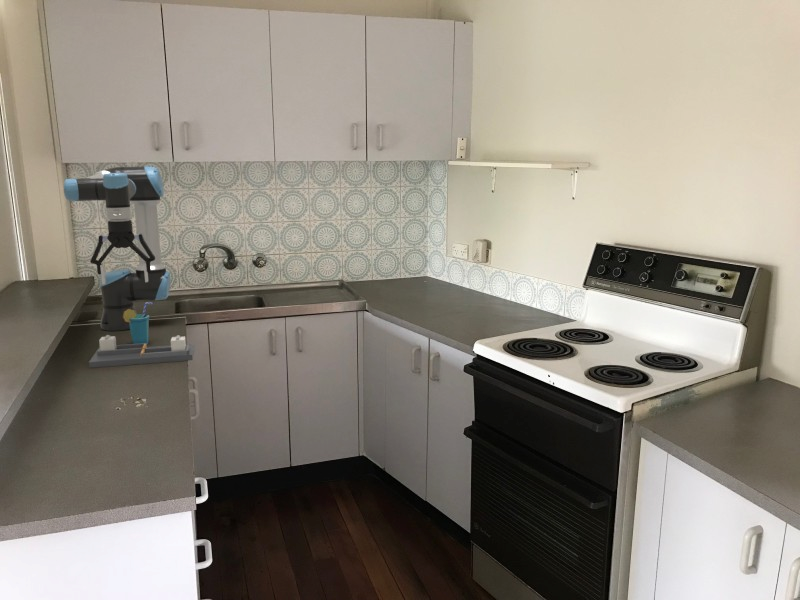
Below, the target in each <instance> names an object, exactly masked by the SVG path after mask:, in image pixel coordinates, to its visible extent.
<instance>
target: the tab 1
mask: <svg viewBox="0 0 800 600" xmlns="http://www.w3.org/2000/svg"><path fill="white" fill-rule="evenodd" d="M98 341H99V342H98V343H99V347H100V351H103V350H117V347H116V345H117V339H116V335H114V336H111V335H110V334H106V335H105V336H101V337H100V339H99V340H98Z"/></svg>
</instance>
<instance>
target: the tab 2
mask: <svg viewBox="0 0 800 600" xmlns="http://www.w3.org/2000/svg"><path fill="white" fill-rule="evenodd" d="M186 341H187V340H186V336H180V334H178V335H176V336H172V337H171V339H170V345H171V351H181V350H186V344H187V342H186Z"/></svg>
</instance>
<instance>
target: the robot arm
mask: <svg viewBox="0 0 800 600" xmlns="http://www.w3.org/2000/svg"><path fill="white" fill-rule="evenodd" d="M164 189H165V187H164V182H163V179H162V174H161V172H160V170H159V169H158V168H157V167H154V166H147V165H146V166H114V167H110V168H106V169H102V170H99V171H97V172H95V173H94V174H93V175H90V176H87V177H83V178H82V177H81V178H66V179H65V180H64V182H63V193H64V197H65V199H66V200H67V201H69V202H86V201H87V202H88V201H104V202H105V208H106V209H105V210H106V219H107V220H108V221H107V229H108V230H107V231H108V234H107V235H103V234H100V235H99V236H98V243H97V244H96V247H95V249H94V252H93V254H92V257H91V258H90V263H91V264H93V265H96V270H97V274H98V275H100V288H101V297H102V305H103V306H102V307H103V309H102V315H101V318H100V330H103V331H109V332H110V331H111V332H115V331H116V332H117V331H125V330H130V325H129V322H125V321H124V319H123V314H124V312H125V311H126V310H128V309H131V310H134V311H135V313H136V314H138V312H137V311H136V308H135V302H140V301H141V302H142V301H160V300H166V299H167V298H168V297H169V295H170V291H171V290H170V288H171V280H172V279H171V278H172V277H171V271H168V270H167V268H166V265H165V264H163V263H162V255H161V253H162V251H161V244H160V243H161V241H160V240H161V239H160V229H159V218H158V217H159V215H158V203H160V202H161V197H163V196H165V195H164V194H165V192H164V191H165V190H164ZM131 204H132V205H133V206H134V207H133V208H134V219H135V229H136V230H135V231H136V234H134V231H133V230H134V229H133V221H132V220H131V219H132V209H131ZM135 239H136V242H137V243H134V241H135ZM106 241H109V242H110V245H109V246H108V248H106V250H105V251H103V253H102V255H101V256H100V257H99V254H100V251H101V249H102V246H103V244H104V243H105V242H106ZM114 248H116V249H121V248H122V249H127V248H130V249H132V250H133V251H134V252H135V253H136V254H137V256H138V266H137V267H136V268H135V272H132V270H131V269H130V268H122V269H117V270H111V271H107V272H106V271H105V264H104V263H103V261H104V260H105V259H106V258H107V256H108V255H109V254H110V253H111V252H112V251H113V249H114ZM98 257H99V259H98Z"/></svg>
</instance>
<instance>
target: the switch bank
mask: <svg viewBox="0 0 800 600" xmlns="http://www.w3.org/2000/svg"><path fill="white" fill-rule="evenodd" d="M147 345H148V344H146V343H139V344H133V343H128V344H127V343H126V344H116V347H117V350H103V351H100V346H98V348H97V350H96V351H95V353H94V354H93V355H92V357H91V359H90V360H89V361H88V367H89V369H92V368H105V367H119V366H133V365H144V364H145V365H146V364H160V363H173V362H186V361H187V362H188V361H193V360H194V354H195V349H196V348H195V343H186V350H181V351H171V344H169V345H158V346H157V345H156V346H147Z"/></svg>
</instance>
